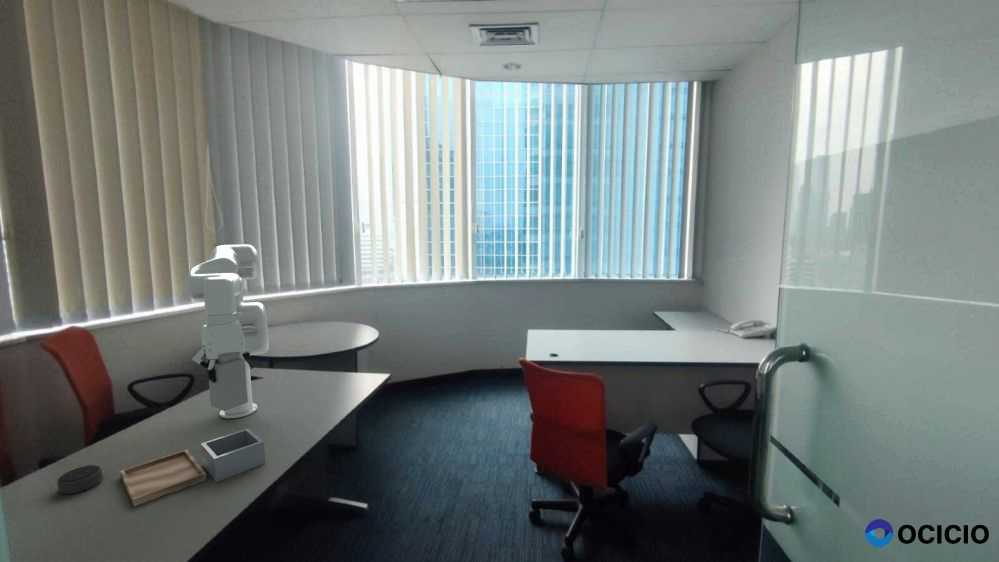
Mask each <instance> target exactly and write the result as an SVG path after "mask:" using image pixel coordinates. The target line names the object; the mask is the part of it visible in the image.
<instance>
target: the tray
mask: <svg viewBox="0 0 999 562" xmlns="http://www.w3.org/2000/svg"><path fill="white" fill-rule="evenodd" d="M119 473H120V478H121V481H122V482H123V485H124V487H125V489H126V491H127V494H128V496H129V498H130V501H131V500H132V501H131V503H132V505H133V507H134V506H135V507H137V505H138V506H140V505H139V504H141V505H143V504H145V502H146V503H149V502H150V501H149V500H151V501H153V500H152V499H154V498H157V497H159V498H161V497H160V496H162V497H164V496H163V495H165V494H167V495H169V494H168V493H170V494H173V493H175V492H177V491H176V490H178V491H180V490H183V489H185V488H184V487H186V488H188V487H190V485H191V486H193V485H192V484H194V485H196V484H199V483H202V482H204V481H206V479H207V473H206V471H205V470H204V469H203V467H202V466H201V464H199V462H197V460H196V459H195V457H194V456H193V455H192V453H190V451H189V450H188V449H183V450H180V451H177V452H174V453H170V454H168V455H164V456H162V457H158V458H156V459H152V460H149V461H146V462H142V463H140V464H136V465H133V466H131V467H128V468H125V469H122V470H119ZM203 480H204V481H203ZM201 481H202V482H201ZM198 482H199V483H198ZM187 486H188V487H187ZM182 488H183V489H182ZM179 489H180V490H179ZM174 491H175V492H174ZM165 496H166V495H165ZM157 499H158V498H157ZM154 500H155V499H154ZM148 501H149V502H148ZM142 503H143V504H142Z"/></svg>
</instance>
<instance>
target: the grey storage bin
mask: <svg viewBox="0 0 999 562" xmlns="http://www.w3.org/2000/svg"><path fill="white" fill-rule="evenodd" d="M200 449H201V459H202V467H204V469H205V468H206V469H205V470H206V471H207V473H209V475H210V476H211V477H212V478H213V480H214V482H215V483H218V482H220V481H222V480H226V479H228V478H230V477H234V476H236V475H238V474H241V473H243V472H247V471H248V470H251V469H254V468H256V467H259V466H261V465H264V464H266V455H265V454H266V453H265V443H264V441H263V440H262V439H261V438H260V437H259V436H258V435H256V434H255V432H253V431H252V429H251V430H250V428H245V429H242V430H239V431H235V432H232V433H229V434H226V435H223V436H220V437H217V438H213V439H211V440H208V441H205V442H201V443H200Z"/></svg>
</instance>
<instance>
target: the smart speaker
mask: <svg viewBox="0 0 999 562" xmlns="http://www.w3.org/2000/svg"><path fill="white" fill-rule="evenodd" d="M102 480H103V470H102V467H101V466H99V465H94V464H93V465H84V466H80V467H77V468H74V469H72V470H69V471H68V472H65V473H63V474H62V475H60V477H59V478H58V479H57V482H56V483H57V489H58V492H59V493H61V494H64V495H72V494H77V493H81V491H82V492H85V491H87V490H89V488H90V489H91V488H93V487H95V486H97V485H98V484H99V483H100V482H101V481H102ZM84 490H85V491H84Z"/></svg>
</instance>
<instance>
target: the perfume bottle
mask: <svg viewBox="0 0 999 562" xmlns="http://www.w3.org/2000/svg"><path fill="white" fill-rule="evenodd" d="M239 355H240V352H238V353H233V354H229V355H224V356H218V357H219V359H216V361H215V363H214V366H213V369H215V374H216V382H215V383H213V382H211V381H210V380H208V387H209V395H210V406H211V407H212V408H215V409H218V410H220V411H221V410H224V411H226V410H229V409H232V408H234V407H237V406H239V405H242V404H245V403H247V402H248V396H247V384H246V372H245V361H246V360H244V359H242V358H241V359H239Z"/></svg>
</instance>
